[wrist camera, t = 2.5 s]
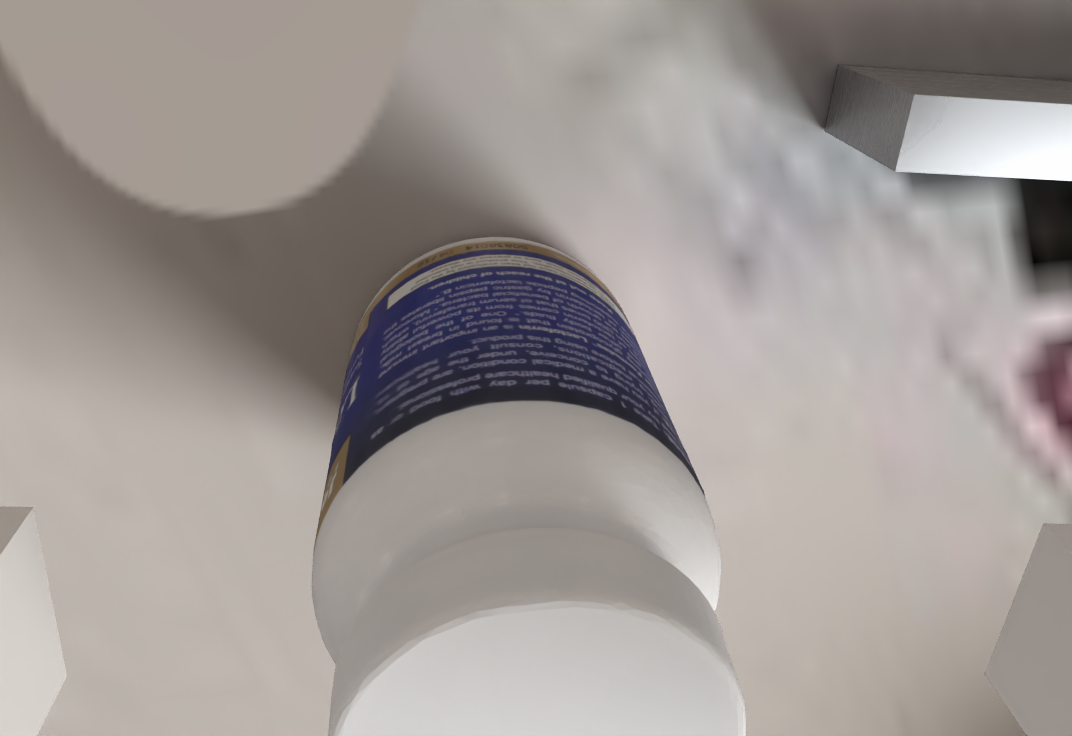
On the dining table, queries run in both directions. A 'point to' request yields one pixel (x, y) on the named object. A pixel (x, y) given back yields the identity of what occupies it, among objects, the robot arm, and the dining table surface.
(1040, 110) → the rail cradle
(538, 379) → the pill bottle
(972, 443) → the dining table surface
